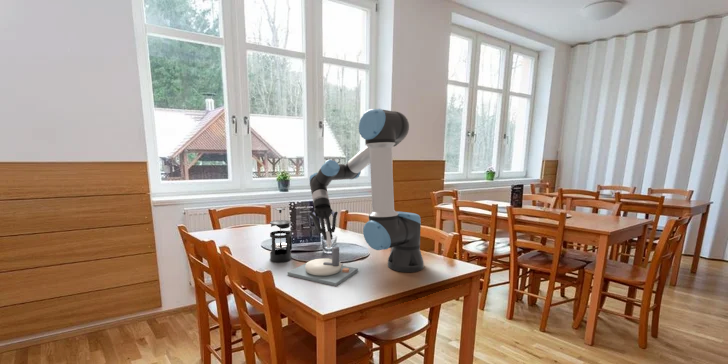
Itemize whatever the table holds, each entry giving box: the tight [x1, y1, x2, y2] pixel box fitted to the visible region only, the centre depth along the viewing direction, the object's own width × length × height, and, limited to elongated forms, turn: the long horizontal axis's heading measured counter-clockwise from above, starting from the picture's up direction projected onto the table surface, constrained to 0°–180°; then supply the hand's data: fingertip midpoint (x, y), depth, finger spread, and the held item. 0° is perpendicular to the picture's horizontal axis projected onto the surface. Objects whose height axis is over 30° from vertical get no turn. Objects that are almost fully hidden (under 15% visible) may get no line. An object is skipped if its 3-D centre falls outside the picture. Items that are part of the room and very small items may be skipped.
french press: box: [269, 207, 293, 264], centre depth 146 cm, size 12×9×23 cm
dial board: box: [287, 262, 359, 287], centre depth 131 cm, size 22×18×2 cm
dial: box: [306, 246, 341, 276], centre depth 130 cm, size 14×14×9 cm
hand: (329, 245), depth 140 cm, fingers closed
